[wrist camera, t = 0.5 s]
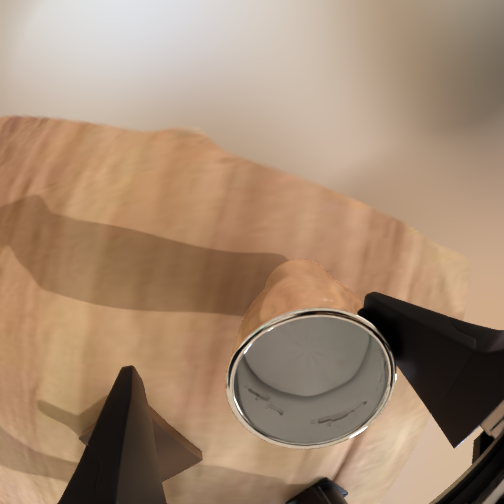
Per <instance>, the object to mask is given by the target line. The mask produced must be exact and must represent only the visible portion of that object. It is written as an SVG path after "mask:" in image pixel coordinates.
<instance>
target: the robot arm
mask: <svg viewBox="0 0 504 504" xmlns="http://www.w3.org/2000/svg"><path fill="white" fill-rule="evenodd" d="M363 308H364V309H365V310H366V311H367V312H368V314H369V315H370V316H371V317H372V319H373V320H374V321H375V323H376V324H377V326H378V327H379V329H380V330H381V332H382V333H383V334H384V336H385V337H386V338H387V340H388V341H389V343H390V345H391V347H392V350H393V352H394V356H395V360H396V365H397V366H398V368H399V369H400V370H401V372H402V373H403V375H404V376H405V377H406V379H407V380H408V382H409V383H410V384H411V386H412V387H413V389H414V390H415V391H416V393H417V394H418V396H419V397H420V399H421V400H422V401H423V403H424V404H425V406H426V407H427V409H428V410H429V412H430V413H431V414H432V416H433V418H434V419H435V421H436V422H437V424H438V425H439V427H440V428H441V430H442V431H443V433H444V434H445V436H446V437H447V439H448V440H449V442H450V443H451V445H452V446H453V448H456V447H457V446H458V445H460V444H461V443H462V442H463V441H464V440H465V439H466V438H467V437H468V436H469V435H470V434H471V433H473V432H474V431H475V430H476V429H477V428H478V427H479V426H481V427H482V429H483V431H482V433H481V434H480V435H479V436H478V437H477V438H476V439H475V440H474V446H473V459H472V465H471V466H470V467H469V468H468V469H467V471H465V472H464V474H463V475H461V476H460V477H459V478H458V479H457V480H456V481H455V482H454V483H453V484H452V485H451V486H450V487H448V488H447V489H446V490H445V491H444V492H443V493H442V494H440V495H439V496H438V497H437V498H436V499H434V500H433V501H432V502H431V503H429V504H504V330H495V329H491V328H487V327H483V326H479V325H475V324H471V323H467V322H464V321H461V320H458V319H455V318H452V317H448V316H446V315H443V314H440V313H437V312H434V311H431V310H428V309H425V308H422V307H419V306H416V305H413V304H410V303H407V302H405V301H402V300H399V299H396V298H393V297H390V296H387V295H384V294H381V293H378V292H371V293H369V294H367V295H366V296H365V300H364V305H363ZM87 444H88V445H86V448H85V450H84V453H83V455H82V457H81V459H80V462H79V464H78V466H77V468H76V470H75V472H74V474H73V476H72V478H71V480H70V482H69V483H68V485H67V487H66V489H65V491H64V493H63V495H62V497H61V499H60V500H59V502H58V504H167V503H166V499H165V495H164V490H163V485H162V480H161V475H160V470H159V464H158V459H157V453H156V446H155V439H154V432H153V425H152V420H151V415H150V411H149V407H148V403H147V398H146V394H145V389H144V385H143V381H142V379H141V377H140V376H139V374H138V372H137V371H136V369H135V367H134V366H132V365H131V366H126V367H122V369H121V370H120V372H119V374H118V377H117V379H116V381H115V383H114V385H113V387H112V389H111V391H110V393H109V396H108V398H107V400H106V402H105V404H104V406H103V409H102V411H101V413H100V415H99V418H98V420H97V422H96V424H95V427H94V429H93V431H92V434H91V436H90V438H89V441H88V443H87ZM347 494H348V492H347V491H346V490H344V489H343V488H341V487H340V486H339V485H337V484H336V483H334V482H333V481H331V480H330V479H329V478H323V479H322V480H320V481H319V482H317V483H316V484H315V485H313V486H312V487H310V488H309V489H307V490H305V491H304V492H302V493H301V494H299V495H298V496H296V497H294V498H293V499H291V500H289V501H288V502H286V503H285V504H348V503H347V502H346V500H345V499H344V498H343V497H345V496H346V495H347Z"/></svg>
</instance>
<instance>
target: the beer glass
mask: <svg viewBox="0 0 504 504" xmlns="http://www.w3.org/2000/svg"><path fill="white" fill-rule="evenodd" d="M363 305H364V304H363V302H362V301H361V300H360V299H359V298H358V297H357V296H356V295H355V294H354V293H353V292H352V291H351V290H350V289H348V288H347V287H346V286H345V285H343V284H342V283H340V282H338V281H336V280H334V279H332V278H331V277H330V276H329V274H328V273H327V272H326V270H325V269H324V268H322V267H321V266H320V265H318V264H317V263H315V262H312V261H309V260H302V259H297V260H290V261H287V262H285V263H283V264H281V265H279V266H278V267H277V268H275V269H274V270H273V271H272V273H271V274H270V275H269V277H268V279H267V281H266V283H265V287H264V290H263V291H262V292H261V293H260V294H259V295H258V296H257V297H256V298H255V300H254V301H253V302H252V304H251V306H250V307H249V309H248V311H247V312H246V314H245V316H244V318H243V320H242V322H241V325H240V328H239V330H238V333H237V336H236V340H235V343H234V347H233V351H232V356H231V359H230V362H229V364H228V368H227V372H226V378H225V389H226V396H227V400H228V403H229V405H230V408H231V410H232V412H233V413H234V415H235V417H236V418H237V419H238V421H239V422H240V423H241V424H242V425H243V426H244V427H245V428H246V429H247V430H248V431H250V432H251V433H252V434H254V435H255V436H257V437H259V438H260V439H262V440H264V441H267V442H269V443H272V444H274V445H278V446H282V447H286V448H293V449H315V448H322V447H327V446H331V445H334V444H337V443H340V442H343V441H345V440H347V439H349V438H351V437H353V436H355V435H356V434H358V433H360V432H361V431H363V430H364V429H365V428H367V427H368V426H369V425H370V424H371V423H372V422H373V421H374V420H375V419H376V418H377V417H378V416H379V415H380V414H381V412H382V411H383V410H384V408H385V407H386V405H387V403H388V401H389V399H390V397H391V395H392V392H393V390H394V386H395V381H396V360H395V356H394V352H393V350H392V347H391V345H390V343H389V341H388V340H387V338H386V337H385V336H384V334H383V333H382V332H381V330H380V329H379V327H378V326H377V324H376V323H375V321H374V320H373V319H372V317H371V316H370V315H369V314H368V312H367V311H366V310H365V309H364V308H363Z"/></svg>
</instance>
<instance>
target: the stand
mask: <svg viewBox="0 0 504 504" xmlns="http://www.w3.org/2000/svg"><path fill="white" fill-rule="evenodd" d="M148 407H149V411H150V415H151V420H152V425H153V432H154V439H155V446H156V453H157V459H158V464H159V470H160V475H161V480H162V482H163V481H165V480H167V479H169V478H171V477H173V476H175V475H176V474H178V473H180V472H182V471H184V470H186V469H188V468H189V467H191V466H193V465H195V464H197V463H198V462H200V461H202V460H203V459H202V451H200V450H199V449H198V448H197V447H195V446H194V445H193V444H192V443H190V442H189V441H188V440H187V439H186V438H184V437H183V436H182V435H181V434H180V433H179V432H177V431H176V430H175V429H174V428H173V427H172V426H171V425H169V424H168V423H167V422H166V421H165V420H164V419H163V418H162V417H161V416H160V415H158V414H157V413H156V412H155V411H154V410H153V409H152V408H151V407H150V406H149V405H148ZM95 424H96V423H95ZM95 424H94V425H92V426H91V427H89V428H88V429H86V430H85V431H83V432H82V434H81V436H80V437H79V440H81V441H82V442H83V443H84V444H85V445H88V444H87V443H88V441H89V438H90V436H91V434H92V431H93V429H94V427H95Z"/></svg>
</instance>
